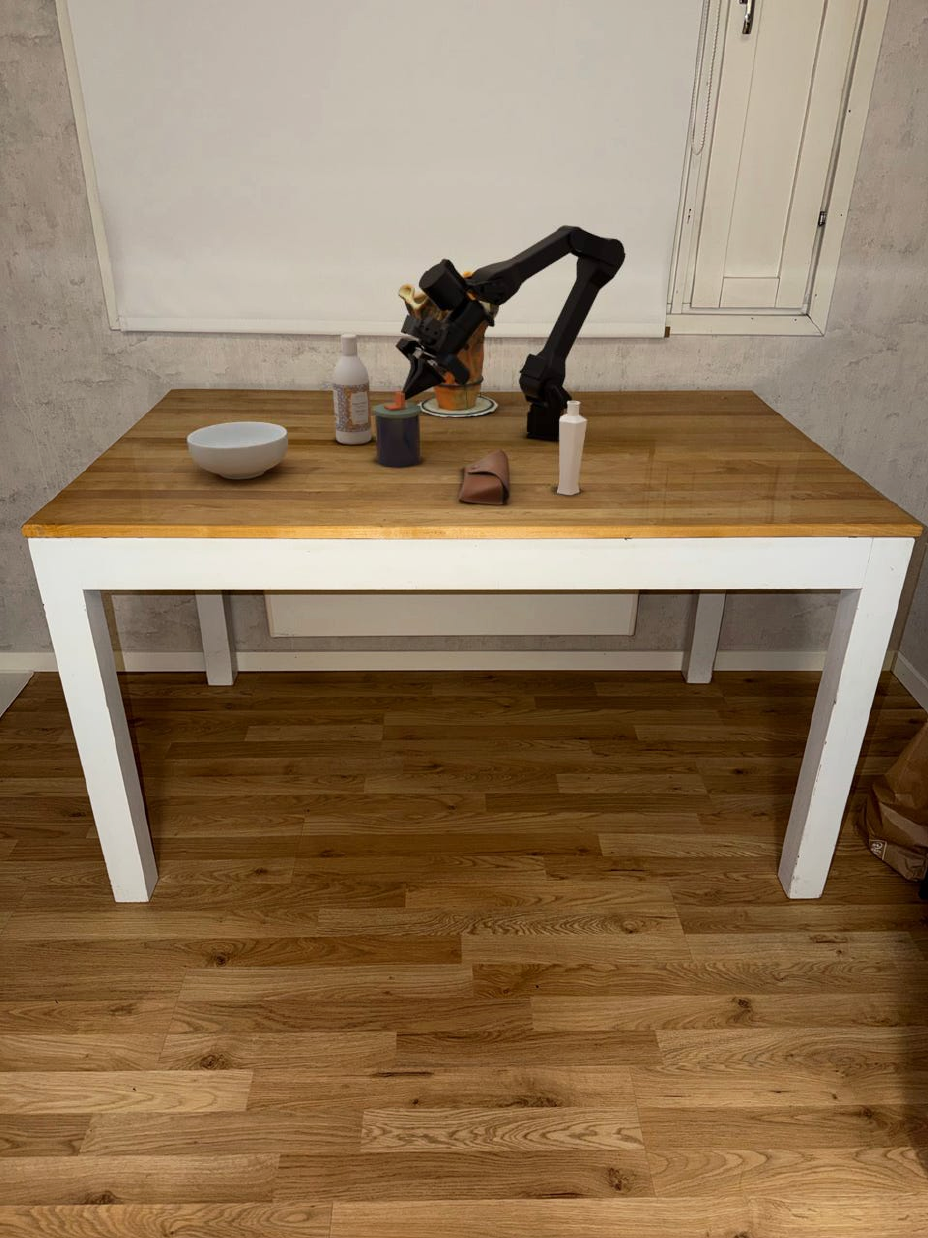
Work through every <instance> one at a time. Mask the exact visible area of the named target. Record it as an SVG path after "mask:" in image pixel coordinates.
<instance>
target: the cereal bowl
mask: <svg viewBox="0 0 928 1238" xmlns="http://www.w3.org/2000/svg"><path fill="white" fill-rule="evenodd" d="M288 433H289V432H288V431H287V429H286V428H285V427H283V426H282V425H279V424H276V423H275V424H274V423H271V422H263V421H234V422H226V423H225V422H224V423H218V424H212V425H209V426H205V427H202V428H199V429H196V430H195V431H192V432H191V433H189V434H188V435H187V438H186V442H187V447H188V451H189V454H190V456H191V458H192V460H193V462H195V464H196V465H198V467H200V468H201V469H203V470H205V471H206V472H209V473H212V474H216V475H219V476H220V477H222V478H225V479H228V480H248V479H254V478H257V477H260V476H262V475H264V473H266V471H268V470H270V469H272V468H274V467H276V466H277V465H279V464H280V463H281V462H282V461H283V460H284V458H285V456H286V455H287V452H288V448H289V434H288Z"/></svg>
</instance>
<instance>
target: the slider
mask: <svg viewBox="0 0 928 1238" xmlns="http://www.w3.org/2000/svg"><path fill="white" fill-rule="evenodd" d="M394 402H395V404H387V405H384V407H385V408H387V409H389V410H390V411H391V410H399V409H405V408H406V407H405V402H406V400H405V394H404V393H402V391H400V390H396V391H394Z"/></svg>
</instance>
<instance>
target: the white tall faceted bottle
mask: <svg viewBox="0 0 928 1238" xmlns="http://www.w3.org/2000/svg"><path fill="white" fill-rule="evenodd" d="M567 404H568V409H566V410H567V411H566V413H564V415H563V416H561V417H560V420H559V439H558V440H559V441H558V443H559V445H558V447H559V449H558V450H559V453H558V455H559V456H558V457H559V460H558V462H559V466H558V469H559V470H558V471H559V472H558V473H559V479H558V480H559V481H558V482H559V483H558V486H557V490H556V493H557V494H559V495H566V496H573V495H576V494H578V493H580V488H579V487H580V486H579V477H580V470H581V464H582V458H583V451H584V444H585V437H586V431H587V424H588V419H586V418H585V417H584V416H582V415H580V405H581V401H577V400H572V401H568V402H567Z"/></svg>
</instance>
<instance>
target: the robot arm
mask: <svg viewBox="0 0 928 1238" xmlns="http://www.w3.org/2000/svg"><path fill="white" fill-rule="evenodd" d="M569 254H571V255H572V256H574V257H576V258H577V260H576V262H575V263H576V270H575V272H576V278H575V281H574V283H573V286H572V288H571V290H570V292H569V294H568V296H567V297H566V300H565V302H564V303H563V306H562V308H561V311H560V313H559V315H558V316H557V319H556V321H555V323H554V325H553V328H552V329H551V331H550V334H549V336H548V338H547V340H546V342H545V343H544V346H543V348H542V349H541V351H539V352H538V353H537V354H533V353H528V355H527V356H526V358H525V362H524V364H523V366H522V368H521V369H520V370H519V371H518V373H519V374H520V375H519V380H518V385H519V389H520V390H521V392H522V394H523V395H524V398H525V402H527V403H530V405H529V410H528V411H527V413H526V433H527V434H526V435H525V438H528V439H536V440H545V441H553V442H556V441H558V440H559V420H560V417H561V416H563V415H565V410H568V404H567V402H568V401H573V397H572V396H571V394H569V392H568V391H567V390H566V389H565V387H564V383H565V379H566V376H567V374H566V373H567V372H566V368H567V367H566V366H567V365H566V361H567V358H568V357H569V355H570V353H571V350H572V349H573V346H574V345H575V342H576V340H577V338H578V335H579V334H580V332H581V330H582V328H583V325H584V323H585V322H586V320H587V317H588V315H589V313H590V311H591V309H592V307H593V304H594V303H595V300H596V299H597V297H598V294H599V293H600V291H601V290H602V289H603V288H604V287H605V286H607V285H608V284H609V283H610V282H611V281H612V280H614V278H615V277H616V275H617V274H618V272H619V271H620V269H621V268H622V266H623V264H624V262H625V259H626V252H625V247H624V244H623V242H622V241H621V240H620V239H617V238H614V237H613V238H612V237H605V236H604V237H603V236H599V235H597V234H595V233H592V232H589V231H587V230H585V229H583V228H582V227H580V226H575V225H567V224H564V225H561V226H559V227H558V228H557V229H556V231H554V232H552V233H550V234H548V235H547V236H545V237H543V238H542V239H541V240H539V241H537V242H535V243H534V244H533V245H531V246H529V247H527V248H526V249H524V250H523V251H520V252H519V253H518V254H516V255H515V256H512V257H511V258H508V259H506V260H502V261H497V262H493V263H490V264H487V265H485V266H482V267H479V268H477V269H476V270H475V271H473V272H474V273H473V274H472V275H471V276H467V277H462V276H461V275H462V274H461V273H460V272H459V271H458V269H456V266H455V265H454V263H453V262H452V261H451V260H450V259H447V258H442V259H441V261H440V262H439V263H436V264H434V265H433V266H431V267H430V268H429V269H427V270H425V271H424V273H422V274H421V277H420V279H419V281H418V287H419V289H420V290H421V292H422V291H423V292H424V293H425V294H426V295H427V297H428V298H429V299H430V300H431V301H432V302H433V303H434V304H435V306H436V307H437V308H438V309H439V310H440V311H446V310H448V311H450V312H449V314H448V315H447V316H446V318H445V319H444V320H443V321H442V322H440V321H439V320H436V319H434V318H432V317H427V318H426V319H425V320H424V321H423V320H422V319H419V318H416V317H413V316H410V315H409V314H406V316H405V319H404V321H403V324H402V327H401V329H400V333H402V334H404V335H407V336H411V337H413V338H416V339H413V338H411V337H401V338H400V339H399V340H398V342H397V343H396V344H395V348H396V349H397V350H398V352H400V353H401V354H402V355H403V356H404V357H405V358H406V359H407V360H408V361H409V366H410V368H409V371H408V375H407V377H406V380H405V383H404V385H403V388H402V391H401V392H402V393H404V394H405V401H407V400H410V399H411V398H412V399H413V398H414V397H416V396H417V395H420V394H421V393H423V392H427V391H428V390H430V389H432V388H434V386H437V385H439V384H441V383H445V382H446V380H445V379H444V378H445V376H446V375H447V374H448V372H449V373H451V374H452V375H453V376H454V377H455V383H456V384H458V385H461V386H463V387H464V386H465V385H466V383H467V382H468V381H469V380H470V370H469V369H468V368H467V367H466V366H465V364H464V363H463V362H462V361H461V360H460V359H459V358H458V357H457V355H458V354H459V352H460V351H461V350H465V351H467V350H468V348H469V347H470V346H469V345H468V344H467V342H468V341H469V339H470V338H471V337H472V336H473V334H474V333H475V332H476V331H477V329H478V328H479V327H480V325H481V324H483V325H487V326H488V327H489V328H490V327H491V328H494V327H495V326H496V323H495V318H494V311H492V310H488V309H487V310H486V309H485V308H484V306H483V305H482V304H481V303H480V302H479V301H481V302H485V303H489V304H493V305H500V306H502V305H504V304H506V303H507V302H508V301H510V300H511V298H513V297H514V296H515V295H516V294H517V293H518V292H519V291H520V289H521V287H522V285H523V284H524V283H525V282H526V281H527V280H528V279H530V278H532V277H534V276H535V275H537V274H538V273H540V272H542V271H543V270H545V269H546V268H548V267H549V266H552V265H553V264H555V263H556V262H558V261H560V260H561V259H563V258H564V257H566V256H568V255H569ZM467 293H470V294H472V296H473V297H474V298H475V299H476V300H472V299H471V298H470V297H469V295H468V294H467ZM417 339H418V340H417Z"/></svg>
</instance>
